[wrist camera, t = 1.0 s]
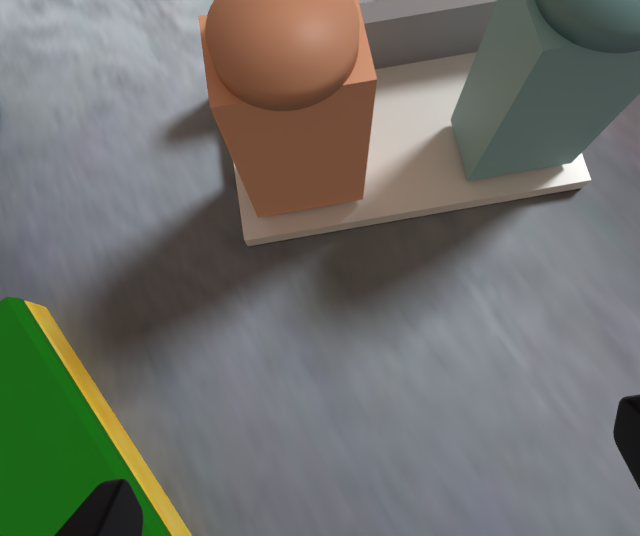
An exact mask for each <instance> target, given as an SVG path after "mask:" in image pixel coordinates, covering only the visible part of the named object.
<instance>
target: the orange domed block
mask: <svg viewBox="0 0 640 536" xmlns="http://www.w3.org/2000/svg"><path fill="white" fill-rule="evenodd" d="M198 17H199V25H200V33H201V41H202V49H203V57H204V64H205V72H206V80H207V88H208V96H209V104H210V109H211V111H212V114H213V116H214V118H215V121H216V123H217V125H218V127H219V130H220V132H221V134H222V137H223V139H224V141H225V143H226V146H227V148H228V150H229V153H230V155H231V157H232V159H233V162H234V164H235V166H236V169H237V171H238V173H239V175H240V178H241V180H242V182H243V185H244V187H245V189H246V191H247V194H248V196H249V198H250V201H251V203H252V205H253V208H254V210H255V212H256V214H257V217H258V218H259V217H265V216H271V215H276V214H282V213H288V212H294V211H299V210H305V209H311V208H317V207H322V206H328V205H334V204H339V203H345V202H351V201H357V200H362V199H363V194H364V186H365V177H366V169H367V161H368V152H369V144H370V135H371V127H372V118H373V110H374V101H375V93H376V84H377V77H376V73H375V68H374V64H373V60H372V56H371V51H370V47H369V43H368V39H367V35H366V30H365V26H364V22H363V18H362V13H361V9H360V5H359V1H358V0H214V2H213V3H212V5H211V7H210V10H209V12H208V15H202V16H198Z"/></svg>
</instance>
